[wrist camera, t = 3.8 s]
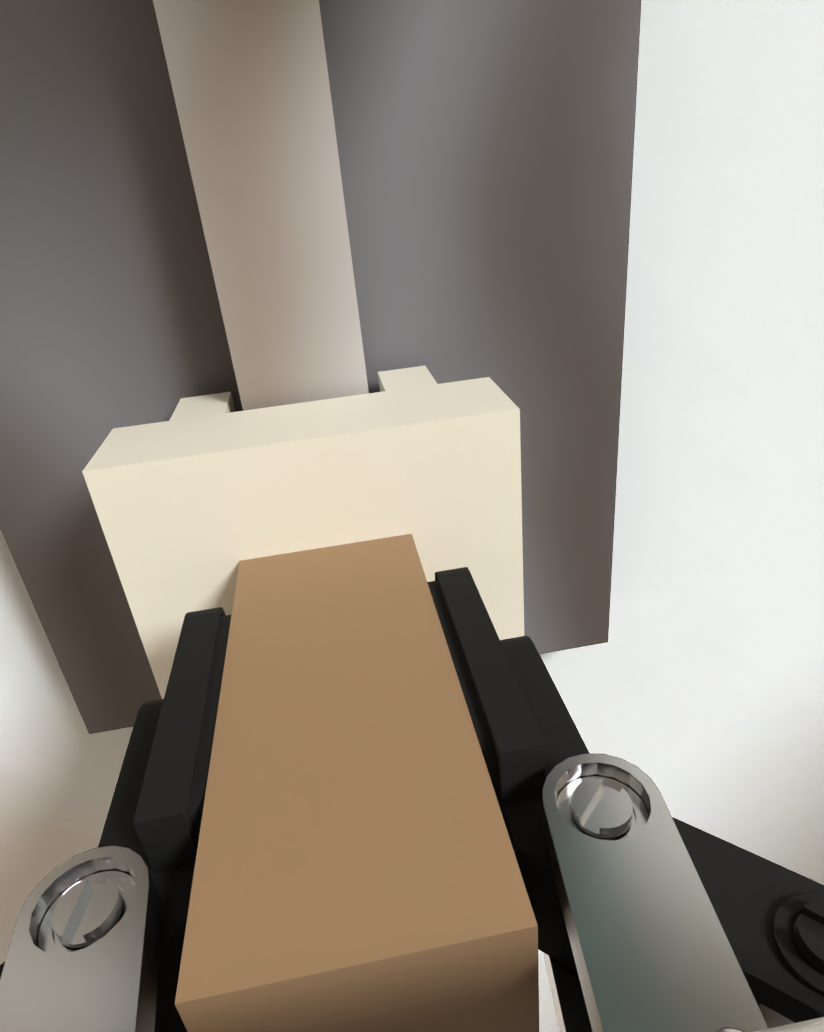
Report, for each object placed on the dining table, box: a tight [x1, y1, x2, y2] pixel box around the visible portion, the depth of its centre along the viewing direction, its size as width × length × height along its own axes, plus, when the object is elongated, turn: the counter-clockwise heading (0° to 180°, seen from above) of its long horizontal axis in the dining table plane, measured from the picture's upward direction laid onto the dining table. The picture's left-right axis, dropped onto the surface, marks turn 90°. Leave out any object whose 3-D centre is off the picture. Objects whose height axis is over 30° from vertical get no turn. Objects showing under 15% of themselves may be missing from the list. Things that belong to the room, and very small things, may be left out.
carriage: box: [82, 366, 539, 1032], centre depth 11 cm, size 7×7×10 cm
